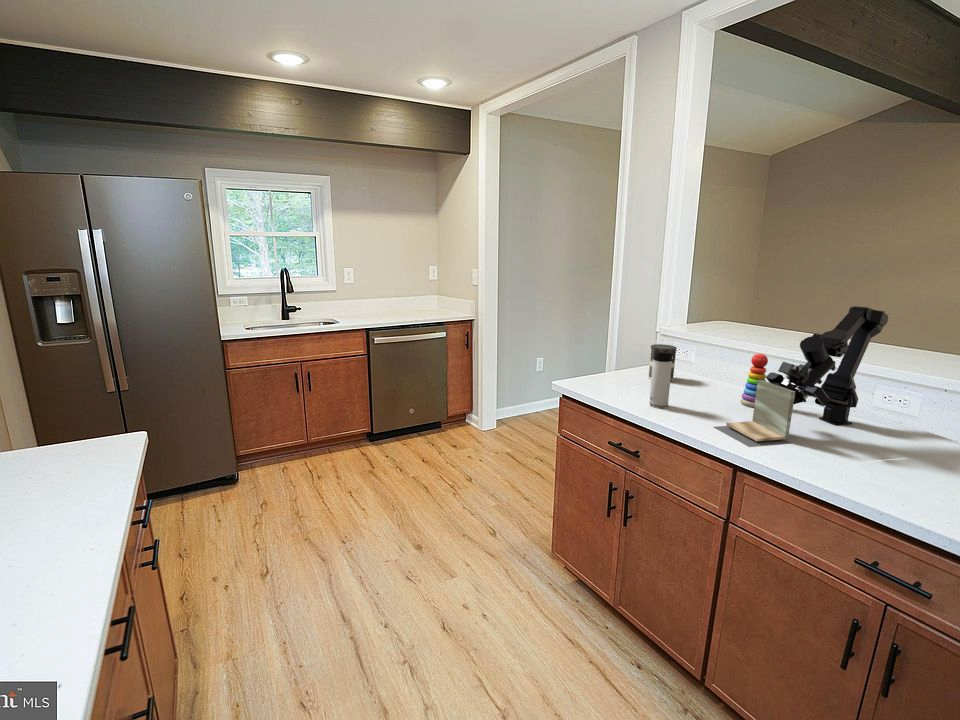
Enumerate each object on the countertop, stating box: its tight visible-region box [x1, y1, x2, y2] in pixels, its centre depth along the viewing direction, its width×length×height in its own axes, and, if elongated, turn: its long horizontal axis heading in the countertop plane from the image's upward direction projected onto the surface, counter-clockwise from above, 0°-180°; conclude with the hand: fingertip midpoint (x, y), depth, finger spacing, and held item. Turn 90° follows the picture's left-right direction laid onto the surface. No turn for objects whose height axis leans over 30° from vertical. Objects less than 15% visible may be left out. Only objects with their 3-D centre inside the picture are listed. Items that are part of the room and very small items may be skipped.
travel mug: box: [648, 351, 673, 409], centre depth 171 cm, size 6×7×20 cm
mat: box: [713, 425, 793, 448], centre depth 146 cm, size 14×16×1 cm
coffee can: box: [648, 343, 678, 381], centre depth 208 cm, size 10×10×14 cm
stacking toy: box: [739, 353, 769, 408], centre depth 173 cm, size 8×8×19 cm
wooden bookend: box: [726, 380, 795, 442], centre depth 144 cm, size 10×13×15 cm
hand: (775, 408), depth 145 cm, fingers closed
